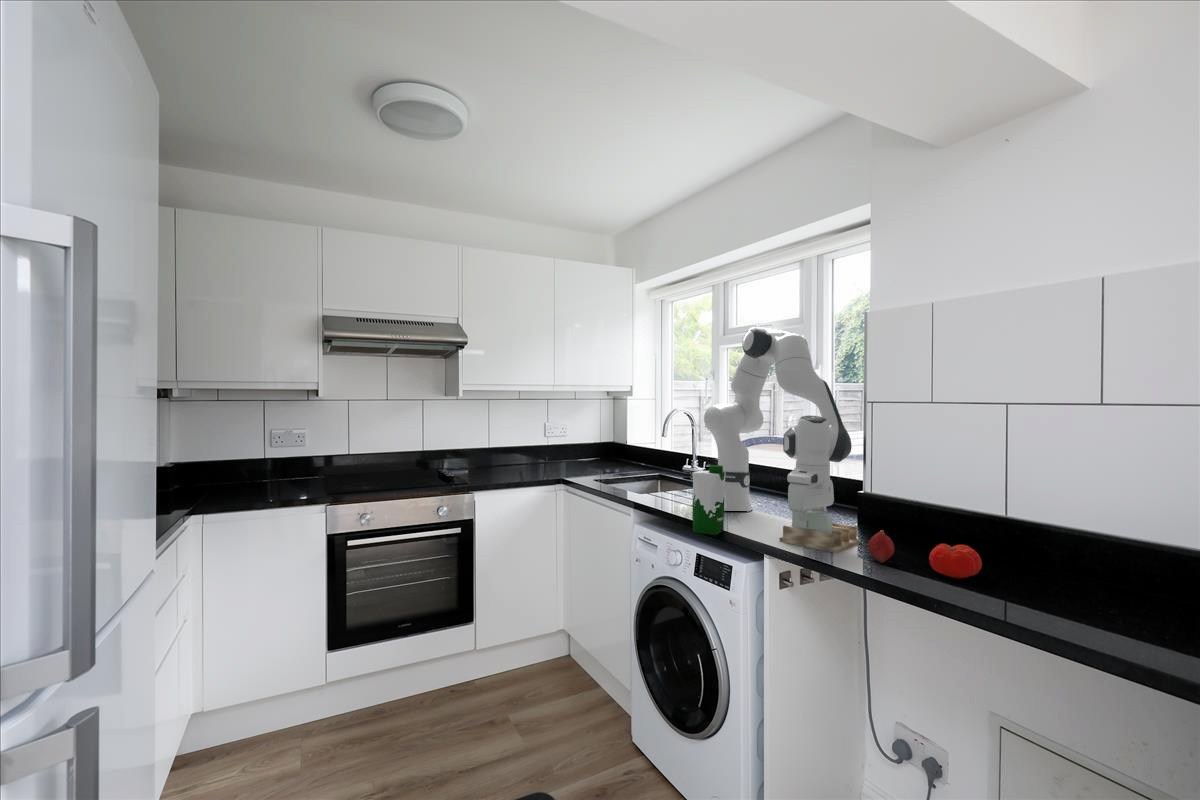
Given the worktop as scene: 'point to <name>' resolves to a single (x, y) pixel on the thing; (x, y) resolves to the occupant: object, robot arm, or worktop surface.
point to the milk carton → (708, 500)
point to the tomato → (955, 560)
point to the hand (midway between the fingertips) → (811, 524)
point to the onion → (881, 547)
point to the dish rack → (822, 537)
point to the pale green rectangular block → (815, 521)
